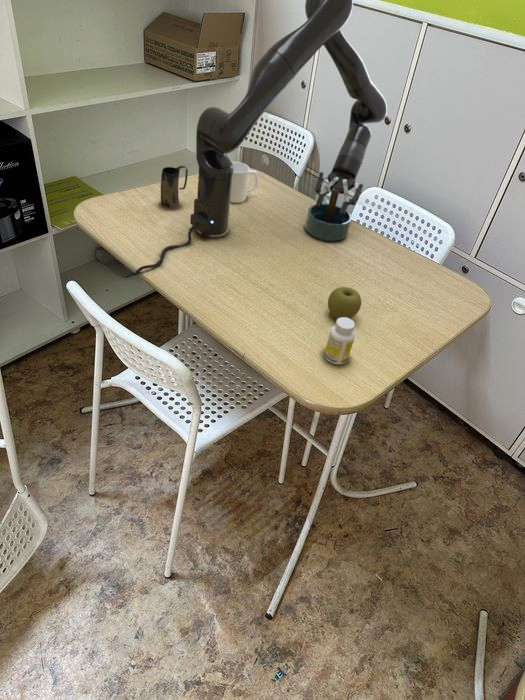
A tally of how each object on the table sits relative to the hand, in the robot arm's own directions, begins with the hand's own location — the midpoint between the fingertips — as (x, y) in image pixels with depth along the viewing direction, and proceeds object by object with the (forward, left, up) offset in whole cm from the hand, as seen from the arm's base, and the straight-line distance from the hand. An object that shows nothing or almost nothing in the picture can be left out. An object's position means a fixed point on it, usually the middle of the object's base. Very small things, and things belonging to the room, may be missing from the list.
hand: (329, 211), depth 154 cm
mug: (-28, +38, -8) cm, 48 cm away
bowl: (+2, +1, -7) cm, 8 cm away
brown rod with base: (+2, +1, -7) cm, 7 cm away
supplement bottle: (-41, -38, -8) cm, 57 cm away
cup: (-6, +32, -8) cm, 33 cm away
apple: (-28, -29, -8) cm, 42 cm away
